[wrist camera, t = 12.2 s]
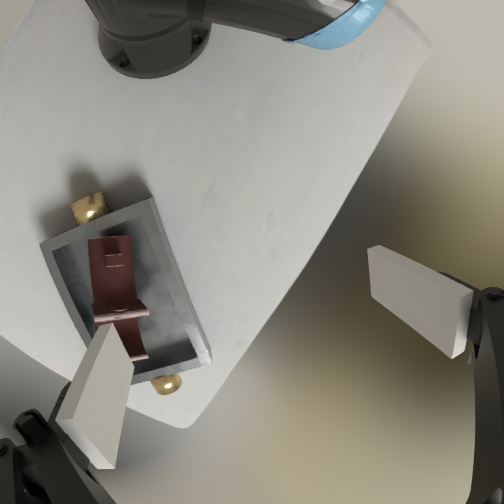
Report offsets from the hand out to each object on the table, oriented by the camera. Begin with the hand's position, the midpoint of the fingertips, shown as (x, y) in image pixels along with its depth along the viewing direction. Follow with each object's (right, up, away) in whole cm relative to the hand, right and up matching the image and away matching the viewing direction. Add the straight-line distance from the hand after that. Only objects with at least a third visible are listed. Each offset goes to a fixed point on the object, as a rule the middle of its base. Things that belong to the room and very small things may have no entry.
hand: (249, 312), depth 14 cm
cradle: (-17, -3, +25) cm, 30 cm away
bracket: (-17, -3, +24) cm, 29 cm away
